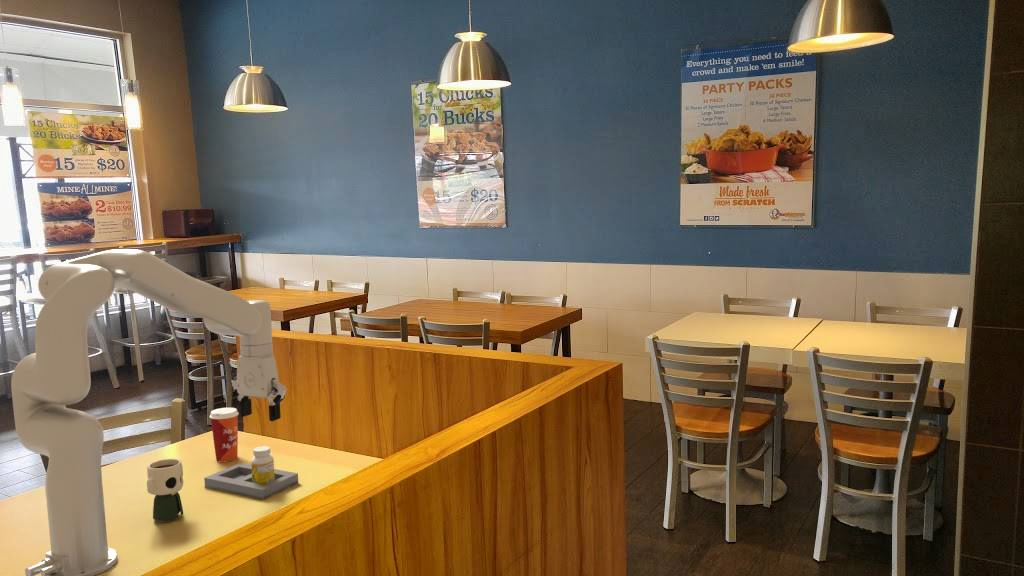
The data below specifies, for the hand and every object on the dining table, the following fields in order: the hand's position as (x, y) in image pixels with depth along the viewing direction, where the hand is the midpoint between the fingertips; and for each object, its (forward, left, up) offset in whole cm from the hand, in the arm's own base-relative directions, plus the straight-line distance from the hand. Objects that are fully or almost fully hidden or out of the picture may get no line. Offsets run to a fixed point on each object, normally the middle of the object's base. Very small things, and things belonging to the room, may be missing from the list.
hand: (260, 417), depth 181 cm
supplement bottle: (0, 0, -18) cm, 18 cm away
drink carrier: (0, +4, -18) cm, 19 cm away
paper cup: (+12, +26, -18) cm, 34 cm away
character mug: (-23, +6, -18) cm, 30 cm away
